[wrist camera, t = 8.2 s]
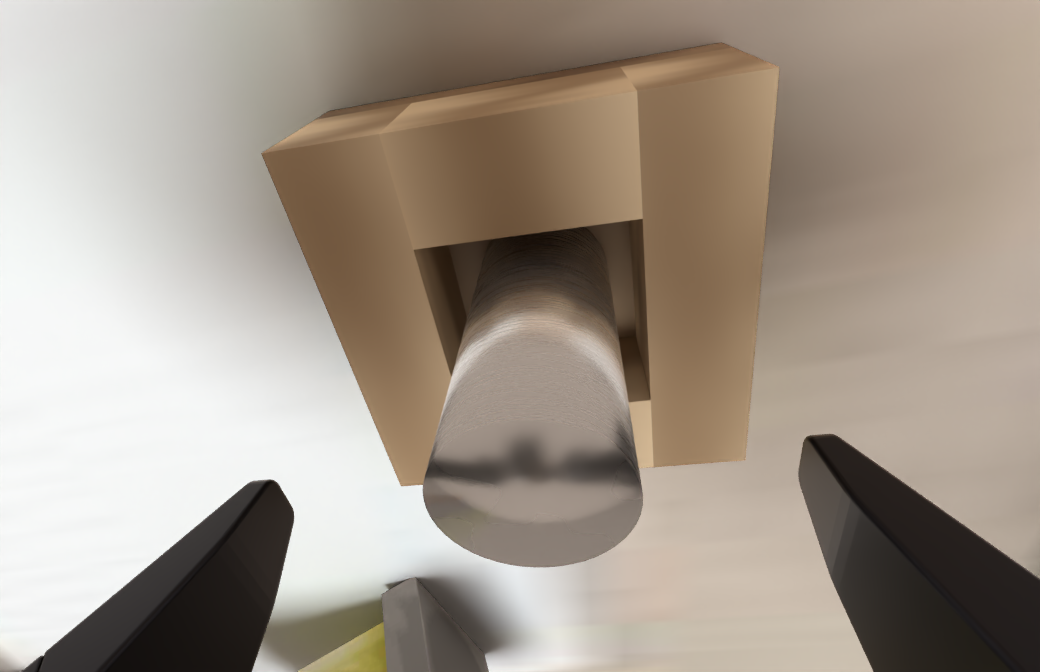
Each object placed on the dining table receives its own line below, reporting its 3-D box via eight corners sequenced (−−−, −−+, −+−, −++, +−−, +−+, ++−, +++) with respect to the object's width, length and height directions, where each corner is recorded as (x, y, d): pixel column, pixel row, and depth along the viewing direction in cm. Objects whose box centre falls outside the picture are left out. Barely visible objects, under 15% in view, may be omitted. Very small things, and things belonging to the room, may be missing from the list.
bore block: (721, 42, 13) (779, 67, 10) (710, 371, 18) (745, 460, 15) (328, 110, 14) (261, 153, 11) (426, 399, 20) (401, 486, 16)
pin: (602, 205, 14) (636, 410, 8) (612, 320, 16) (647, 562, 10) (469, 224, 15) (395, 432, 8) (495, 333, 17) (452, 571, 10)
